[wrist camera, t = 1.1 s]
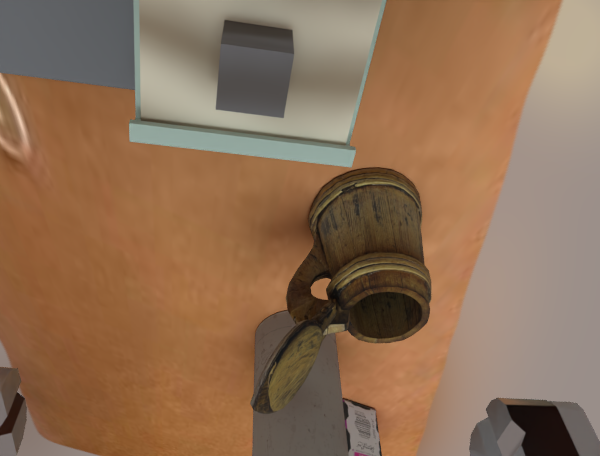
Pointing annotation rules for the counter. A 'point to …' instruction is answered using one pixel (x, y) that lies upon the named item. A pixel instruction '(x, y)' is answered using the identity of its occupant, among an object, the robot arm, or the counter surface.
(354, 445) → the candy bar box
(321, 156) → the box
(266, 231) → the counter surface
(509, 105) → the counter surface
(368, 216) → the wooden mug
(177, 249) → the counter surface
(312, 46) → the cover lid
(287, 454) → the thermos bottle
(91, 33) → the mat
